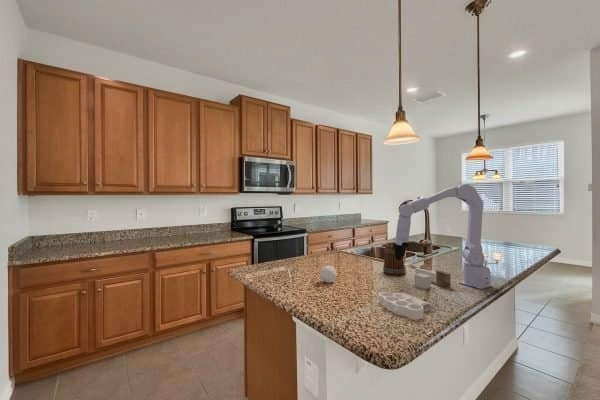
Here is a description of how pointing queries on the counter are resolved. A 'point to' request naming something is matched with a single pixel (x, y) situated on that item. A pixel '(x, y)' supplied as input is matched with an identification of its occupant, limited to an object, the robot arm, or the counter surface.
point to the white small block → (422, 281)
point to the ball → (328, 274)
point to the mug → (392, 261)
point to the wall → (443, 279)
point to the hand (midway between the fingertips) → (399, 258)
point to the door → (426, 273)
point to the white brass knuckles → (404, 305)
